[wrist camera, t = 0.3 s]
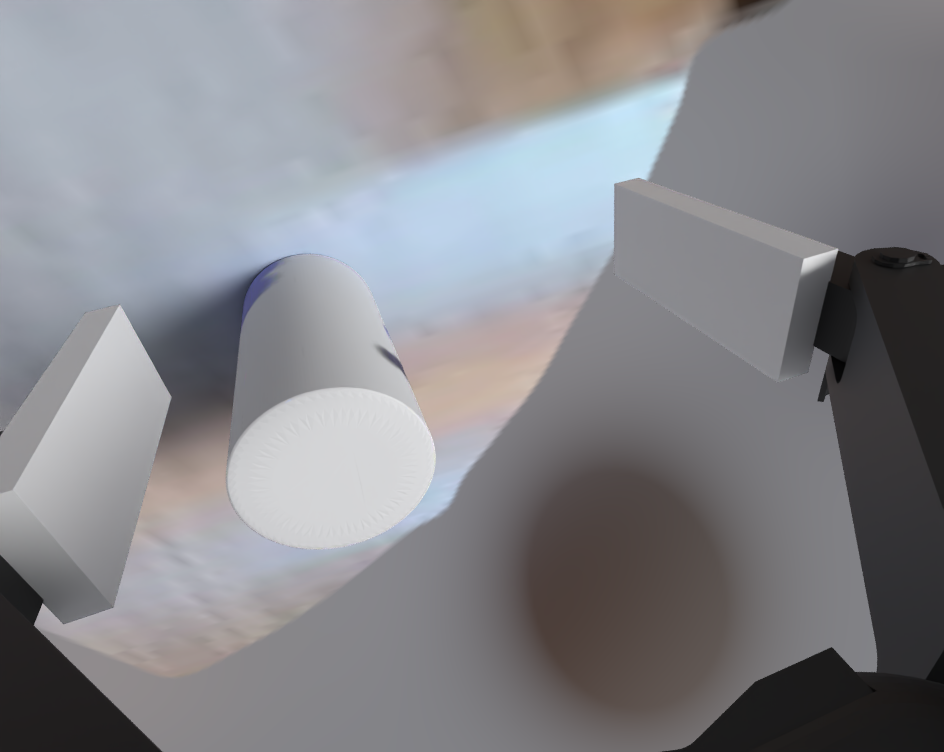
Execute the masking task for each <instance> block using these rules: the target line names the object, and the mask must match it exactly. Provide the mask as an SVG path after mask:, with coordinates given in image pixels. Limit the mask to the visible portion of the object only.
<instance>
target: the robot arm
mask: <svg viewBox="0 0 944 752" xmlns="http://www.w3.org/2000/svg"><path fill="white" fill-rule="evenodd" d="M614 275H616V276H617V277H619V278H620V279H622V280H623V281H625V282H626V283H628V284H629V285H631V286H632V287H634V288H635V289H637V290H638V291H640V292H642V293H643V294H644V295H646V296H647V297H649V298H650V299H652V300H653V301H655V302H656V303H658V304H660V305H661V306H663V307H664V308H666V309H667V310H669V311H670V312H672V313H673V314H675V315H676V316H678V317H679V318H681V319H682V320H684V321H685V322H687V323H688V324H690V325H691V326H693V327H694V328H696V329H697V330H699V331H700V332H702V333H703V334H705V335H707V336H708V337H709V338H711V339H713V340H714V341H715V342H717V343H719V344H720V345H722V346H723V347H725V348H726V349H728V350H729V351H731V352H732V353H734V354H735V355H737V356H738V357H740V358H741V359H743V360H744V361H746V362H747V363H749V364H750V365H752V366H753V367H755V368H756V369H758V370H759V371H761V372H762V373H764V374H766V375H767V376H768V377H770V378H772V379H773V380H775V381H776V382H781V381H784V380H787V379H790V378H793V377H796V376H799V375H802V374H805V373H808V371H809V366H810V362H811V358H812V354H813V350H814V346H815V347H817V348H819V349H821V350H822V351H824V352H826V353H828V354H829V359H828V362H827V366H826V370H825V374H824V378H823V381H822V385H821V389H820V393H819V397H818V401H821V402H823V401H824V399H825V396H826V395H828V394H830V400H831V406H832V411H833V416H834V422H835V426H836V432H837V438H838V443H839V448H840V454H841V459H842V464H843V470H844V475H845V480H846V486H847V491H848V496H849V502H850V507H851V513H852V518H853V523H854V528H855V534H856V540H857V545H858V550H859V555H860V560H861V566H862V571H863V576H864V582H865V587H866V593H867V598H868V604H869V609H870V615H871V620H872V625H873V630H874V636H875V641H876V648H877V672H854V670H853V669H852V668H851V667H850V666H849V665H848V664H847V663H846V662H845V661H844V660H843V659H842V657H840V655H839V654H838V653H837V652H836V651H835V650H834V649H833V648H832V647H831V648H829V649H827V650H824V651H823V652H820V653H818V654H816V655H813V656H811V657H809V658H807V659H805V660H803V661H800V662H798V663H796V664H794V665H791V666H789V667H787V668H785V669H782V670H780V671H778V672H776V673H774V674H771V675H769V676H767V677H765V678H763V679H760V680H758V681H756V682H755V683H754V684H753V685H752V686H751V687H749V688H748V690H746V692H744V693H743V694H742V695H741V696H740V697H739V698H738V699H737V700H736V701H735V702H734V703H733V704H732V705H731V706H730V707H729V708H728V709H727V710H726V711H725V712H724V713H723V714H722V715H721V716H720V717H719V718H718V719H717V720H716V721H715V722H714V723H713V724H712V725H711V726H710V727H709V728H708V729H707V730H706V731H705V732H704V733H703V734H702V735H701V736H700V737H699V738H697V739H696V740H695V741H694V742H693V743H692V744H691V745H689V746H687V747H685V748H682V749H678V750H672V751H663V752H944V265H940V263H939V262H938V261H937V260H936V259H935V258H933V257H932V256H930V255H928V254H927V253H922V252H919V251H913V250H910V249H906V248H899V247H892V248H891V247H890V248H874V249H870V250H865V251H862V252H860V253H858V254H857V255H856V256H855V257H854V256H852V255H849V254H846V253H843V252H840V251H838V249H837V248H834V247H831V246H828V245H825V244H823V243H820V242H817V241H814V240H812V239H809V238H806V237H803V236H801V235H797V234H795V233H792V232H789V231H786V230H783V229H781V228H778V227H775V226H772V225H770V224H767V223H764V222H761V221H758V220H755V219H753V218H750V217H747V216H744V215H742V214H739V213H736V212H733V211H730V210H727V209H725V208H722V207H719V206H716V205H713V204H710V203H708V202H705V201H702V200H699V199H697V198H694V197H691V196H688V195H685V194H683V193H680V192H677V191H674V190H671V189H668V188H666V187H663V186H660V185H657V184H654V183H651V182H649V181H646V180H643V179H640V178H636V179H632V180H628V181H624V182H620V183H616V184H614ZM170 401H171V396H170V394H169V392H168V390H167V388H166V386H165V385H164V383H163V381H162V379H161V377H160V376H159V374H158V372H157V370H156V368H155V367H154V365H153V363H152V361H151V359H150V358H149V356H148V354H147V352H146V350H145V349H144V347H143V345H142V343H141V341H140V340H139V338H138V336H137V334H136V332H135V331H134V329H133V327H132V325H131V323H130V322H129V320H128V318H127V316H126V314H125V313H124V311H123V309H122V307H121V305H120V304H119V305H114V306H110V307H106V308H102V309H98V310H94V311H90V312H86V313H85V314H84V315H83V317H82V318H81V320H80V321H79V322H78V324H77V325H76V327H75V328H74V330H73V331H72V333H71V334H70V336H69V337H68V338H67V340H66V341H65V343H64V344H63V346H62V347H61V349H60V350H59V352H58V353H57V354H56V356H55V357H54V359H53V360H52V362H51V363H50V365H49V366H48V368H47V369H46V370H45V372H44V373H43V375H42V376H41V378H40V379H39V381H38V382H37V384H36V385H35V386H34V388H33V389H32V391H31V392H30V394H29V395H28V397H27V398H26V400H25V401H24V402H23V404H22V405H21V407H20V408H19V410H18V411H17V413H16V414H15V416H14V417H13V418H12V420H11V421H10V423H9V424H8V426H7V427H6V429H5V430H4V431H1V432H0V752H162V751H161V750H160V749H159V748H158V747H157V746H156V745H155V744H154V743H153V742H152V741H151V740H150V739H149V738H148V737H147V736H146V735H145V734H144V733H143V732H142V731H141V730H140V729H139V728H138V727H137V726H136V725H135V724H133V722H131V720H130V719H129V718H127V717H126V715H124V714H123V713H122V712H121V711H120V710H119V709H118V708H117V707H116V706H115V705H114V704H113V703H112V702H111V701H110V700H109V699H108V698H107V697H106V696H105V695H104V694H103V693H102V692H101V691H100V690H99V689H98V688H97V687H96V686H95V685H94V684H93V683H92V682H91V681H90V680H89V679H88V678H87V677H86V676H85V675H84V674H83V673H82V672H80V670H78V669H77V668H76V667H75V666H74V665H73V664H72V663H71V662H70V661H69V660H68V659H67V658H66V657H65V656H64V655H63V654H62V653H61V652H60V651H59V650H58V649H57V648H56V647H55V646H54V645H53V644H52V643H51V642H50V641H49V640H48V639H47V638H46V637H45V636H44V635H43V634H41V632H40V631H39V630H38V629H37V628H36V627H35V626H34V623H35V621H36V618H37V616H38V613H39V611H40V608H41V606H42V603H43V604H44V605H45V606H46V607H47V608H48V609H49V610H50V611H51V612H52V613H53V614H54V615H55V616H56V617H57V618H58V619H59V620H60V621H61V622H62V623H63V624H66V623H69V622H72V621H75V620H78V619H81V618H84V617H87V616H90V615H93V614H96V613H99V612H102V611H105V610H107V609H110V608H113V607H114V603H115V600H116V596H117V593H118V589H119V585H120V582H121V578H122V574H123V571H124V567H125V564H126V560H127V556H128V553H129V549H130V545H131V542H132V538H133V535H134V531H135V527H136V524H137V520H138V517H139V513H140V509H141V506H142V502H143V498H144V495H145V491H146V488H147V484H148V480H149V477H150V473H151V469H152V466H153V462H154V459H155V455H156V451H157V448H158V444H159V441H160V437H161V433H162V430H163V426H164V422H165V419H166V415H167V412H168V408H169V404H170Z"/></svg>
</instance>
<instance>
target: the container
mask: <svg viewBox="0 0 944 752" xmlns="http://www.w3.org/2000/svg"><path fill="white" fill-rule="evenodd" d="M434 469H435V447H434V443H433V439H432V436H431V434H430V431H429V429H428V427H427V424H426V422H425V420H424V417H423V415H422V412H421V410H420V408H419V405H418V403H417V400H416V398H415V396H414V393H413V391H412V389H411V386H410V384H409V381H408V379H407V377H406V375H405V373H404V370H403V367H402V365H401V362H400V360H399V358H398V355H397V353H396V350H395V348H394V346H393V343H392V341H391V338H390V336H389V334H388V331H387V329H386V327H385V324H384V322H383V319H382V317H381V315H380V312H379V310H378V307H377V305H376V303H375V300H374V298H373V295H372V293H371V291H370V289H369V287H368V285H367V284H366V282H365V281H364V280H363V278H362V277H361V276H360V275H359V274H358V273H357V272H356V271H355V270H354V269H352V268H351V267H350V266H348V265H346V264H345V263H343V262H341V261H339V260H337V259H334V258H331V257H328V256H323V255H317V254H301V255H294V256H290V257H286V258H283V259H281V260H279V261H276V262H274V263H273V264H271V265H269V266H268V267H267V268H265V269H264V270H263V271H262V272H261V273H260V274H259V275H258V276H257V277H256V278H255V279H254V281H253V282H252V283H251V285H250V287H249V289H248V291H247V293H246V296H245V300H244V305H243V314H242V323H241V333H240V343H239V352H238V362H237V372H236V381H235V391H234V401H233V411H232V420H231V430H230V440H229V449H228V459H227V469H226V488H227V493H228V497H229V500H230V502H231V504H232V507H233V508H234V510H235V512H236V513H237V515H238V516H239V517H240V518H241V520H242V521H243V522H244V523H245V524H246V525H247V526H248V527H250V528H251V529H252V530H253V531H255V532H256V533H258V534H259V535H261V536H263V537H265V538H267V539H269V540H271V541H274V542H276V543H279V544H282V545H286V546H290V547H295V548H302V549H333V548H340V547H345V546H350V545H354V544H357V543H360V542H363V541H366V540H369V539H371V538H373V537H376V536H378V535H380V534H382V533H383V532H385V531H387V530H389V529H390V528H392V527H393V526H395V525H396V524H398V523H399V522H400V521H401V520H403V519H404V518H405V517H406V516H407V515H408V514H409V513H410V512H411V511H412V510H413V509H414V508H415V507H416V506H417V505H418V503H419V502H420V501H421V499H422V498H423V496H424V495H425V493H426V491H427V489H428V487H429V485H430V483H431V480H432V477H433V474H434Z"/></svg>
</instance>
